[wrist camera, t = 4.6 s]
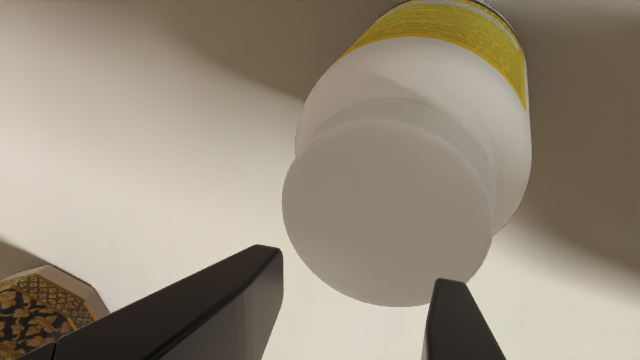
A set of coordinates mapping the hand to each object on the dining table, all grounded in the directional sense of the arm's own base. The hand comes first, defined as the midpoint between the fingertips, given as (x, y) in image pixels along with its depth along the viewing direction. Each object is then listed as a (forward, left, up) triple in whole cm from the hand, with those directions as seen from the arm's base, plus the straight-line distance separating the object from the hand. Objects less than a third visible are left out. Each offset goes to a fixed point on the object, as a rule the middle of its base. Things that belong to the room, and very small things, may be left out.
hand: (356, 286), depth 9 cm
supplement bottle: (0, 0, -12) cm, 12 cm away
